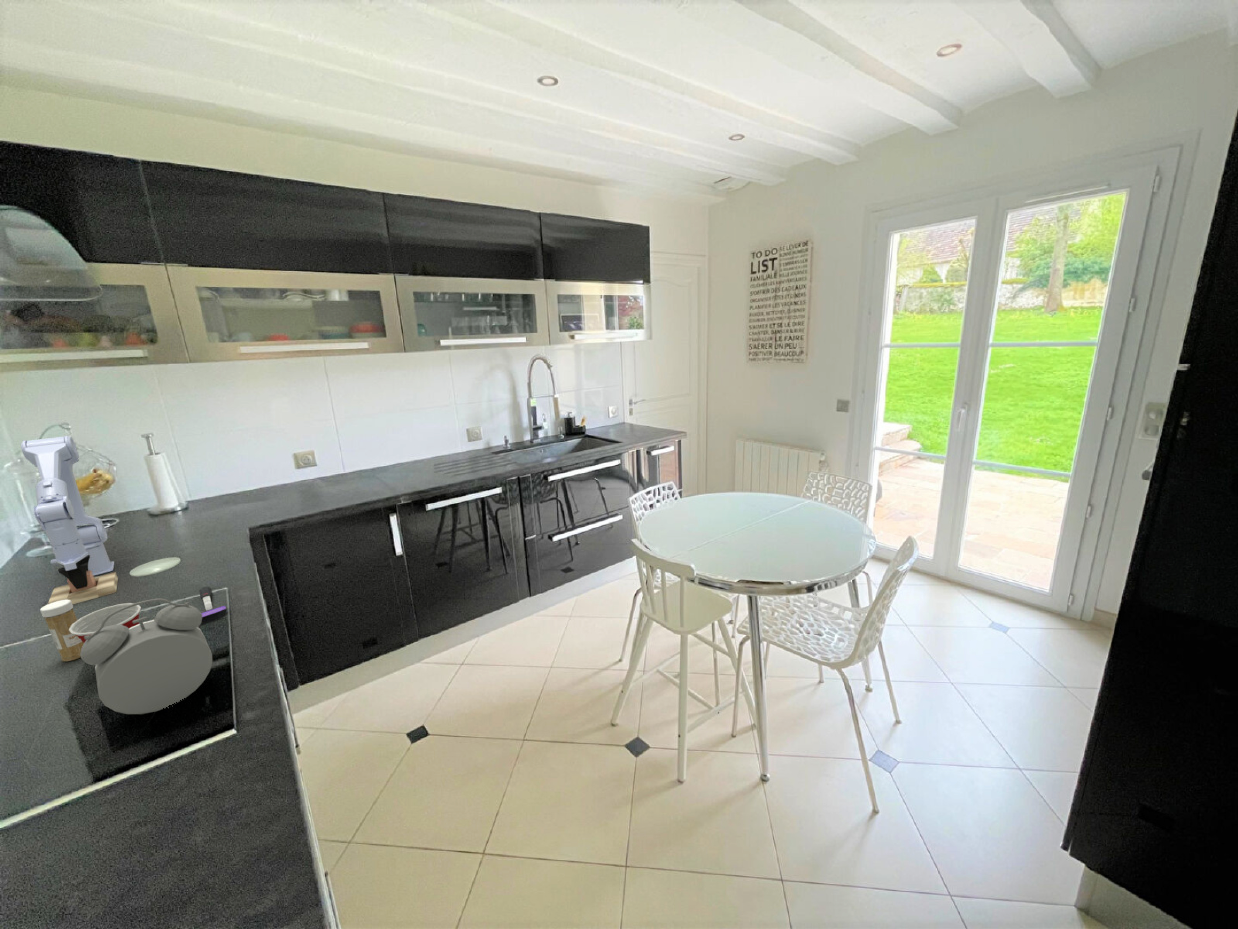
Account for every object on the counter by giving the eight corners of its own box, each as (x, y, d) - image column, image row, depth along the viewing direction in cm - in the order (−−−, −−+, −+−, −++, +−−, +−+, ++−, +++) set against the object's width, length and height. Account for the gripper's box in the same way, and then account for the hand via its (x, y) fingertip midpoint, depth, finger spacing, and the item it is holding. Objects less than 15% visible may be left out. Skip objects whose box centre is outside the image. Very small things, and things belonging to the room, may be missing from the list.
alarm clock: (218, 670, 101) (189, 578, 95) (227, 688, 95) (196, 591, 89) (108, 717, 89) (67, 615, 83) (111, 741, 83) (66, 633, 78)
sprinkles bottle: (86, 657, 108) (65, 605, 104) (58, 665, 106) (35, 612, 102) (94, 646, 112) (73, 596, 108) (66, 654, 109) (44, 603, 106)
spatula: (190, 594, 135) (188, 587, 134) (221, 585, 139) (218, 578, 139) (194, 628, 118) (191, 620, 117) (228, 617, 122) (226, 608, 121)
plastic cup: (86, 688, 97) (66, 638, 94) (89, 665, 105) (69, 618, 102) (158, 661, 105) (141, 614, 102) (155, 641, 112) (139, 597, 109)
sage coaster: (130, 568, 153) (130, 567, 153) (179, 555, 161) (179, 554, 161) (129, 580, 145) (129, 578, 144) (181, 566, 153) (181, 564, 152)
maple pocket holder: (56, 594, 138) (54, 588, 137) (117, 578, 146) (115, 572, 146) (50, 610, 129) (47, 603, 129) (116, 592, 138) (113, 585, 137)
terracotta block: (76, 594, 138) (68, 575, 136) (97, 588, 141) (90, 570, 139) (74, 599, 135) (67, 580, 133) (96, 593, 138) (89, 574, 136)
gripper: (48, 539, 136) (65, 581, 139) (40, 553, 126) (59, 599, 129) (84, 531, 141) (99, 572, 144) (79, 545, 130) (96, 588, 134)
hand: (83, 584), depth 137 cm, fingers closed on terracotta block, 4 cm apart
